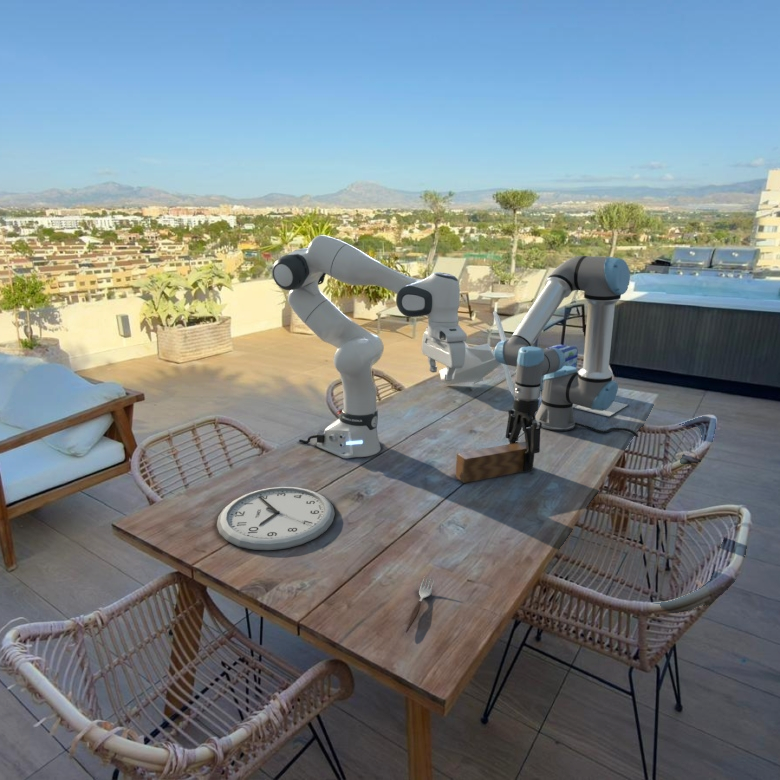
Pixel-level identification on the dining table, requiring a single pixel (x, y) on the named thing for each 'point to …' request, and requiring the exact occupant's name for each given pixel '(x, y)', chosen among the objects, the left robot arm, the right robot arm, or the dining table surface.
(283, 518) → the wall clock
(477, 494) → the dining table surface
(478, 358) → the white plastic object
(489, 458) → the bar
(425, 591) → the fork
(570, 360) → the lunch box
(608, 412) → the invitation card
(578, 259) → the right robot arm
